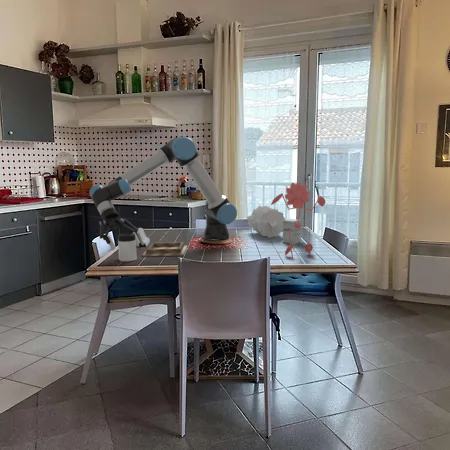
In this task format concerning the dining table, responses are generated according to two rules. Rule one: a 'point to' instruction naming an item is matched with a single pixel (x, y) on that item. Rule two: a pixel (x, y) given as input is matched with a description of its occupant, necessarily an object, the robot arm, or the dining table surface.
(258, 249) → the dining table surface
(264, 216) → the grey rounded scaly piece
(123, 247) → the jar
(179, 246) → the jar stand
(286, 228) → the supplement box
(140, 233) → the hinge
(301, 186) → the figurine
